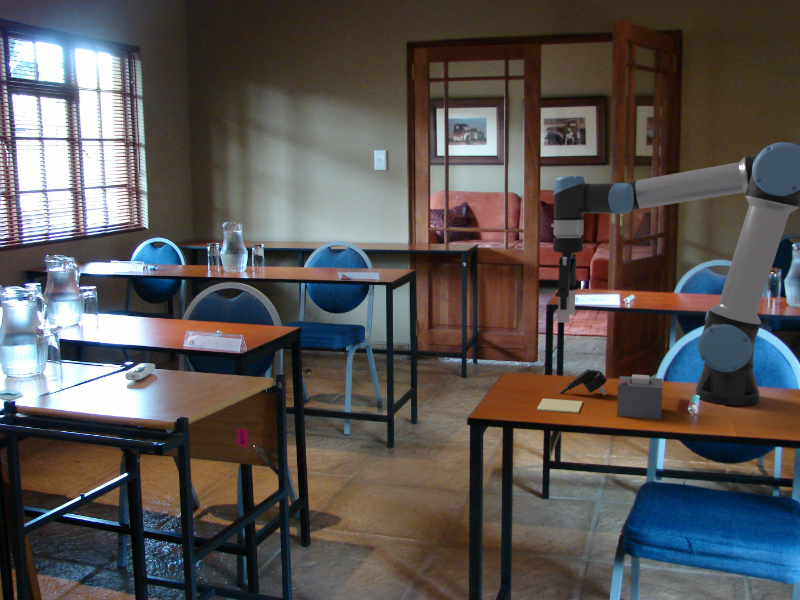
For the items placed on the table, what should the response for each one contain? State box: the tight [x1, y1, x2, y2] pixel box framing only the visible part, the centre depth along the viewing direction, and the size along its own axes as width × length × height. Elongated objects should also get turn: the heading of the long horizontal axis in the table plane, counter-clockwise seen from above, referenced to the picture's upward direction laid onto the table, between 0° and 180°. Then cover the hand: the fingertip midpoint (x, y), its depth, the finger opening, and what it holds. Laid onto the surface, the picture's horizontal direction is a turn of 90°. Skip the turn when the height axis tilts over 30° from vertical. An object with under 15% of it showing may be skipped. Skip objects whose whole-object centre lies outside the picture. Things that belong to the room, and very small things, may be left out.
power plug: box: [559, 369, 608, 396], centre depth 204 cm, size 6×8×12 cm
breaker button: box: [631, 374, 650, 385], centre depth 187 cm, size 4×4×4 cm
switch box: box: [616, 375, 663, 420], centre depth 188 cm, size 10×10×8 cm
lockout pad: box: [536, 398, 583, 414], centre depth 194 cm, size 10×10×1 cm
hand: (566, 318), depth 203 cm, fingers open, 13 cm apart
